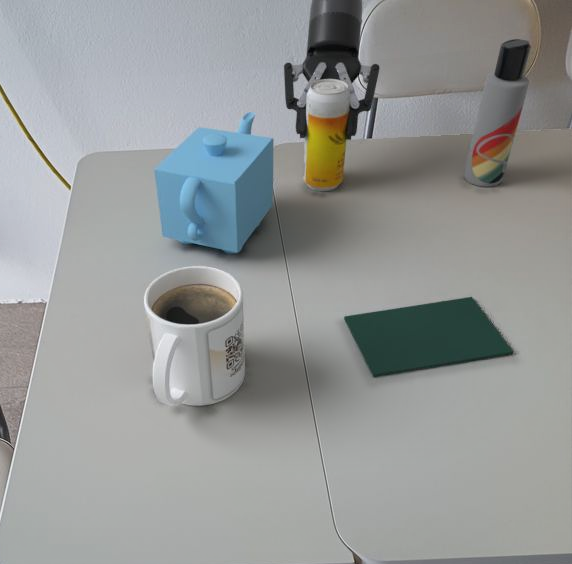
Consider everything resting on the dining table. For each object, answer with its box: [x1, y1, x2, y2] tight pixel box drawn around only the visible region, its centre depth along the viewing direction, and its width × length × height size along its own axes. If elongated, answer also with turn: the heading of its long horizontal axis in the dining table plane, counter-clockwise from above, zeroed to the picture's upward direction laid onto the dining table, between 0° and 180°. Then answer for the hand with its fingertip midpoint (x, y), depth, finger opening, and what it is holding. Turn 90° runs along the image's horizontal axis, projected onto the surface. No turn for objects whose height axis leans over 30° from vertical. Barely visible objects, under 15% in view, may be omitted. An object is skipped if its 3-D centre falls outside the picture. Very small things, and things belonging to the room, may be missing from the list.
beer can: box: [302, 79, 350, 192], centre depth 96 cm, size 6×6×15 cm
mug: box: [143, 265, 246, 407], centre depth 67 cm, size 10×12×11 cm
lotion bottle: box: [463, 38, 532, 188], centre depth 93 cm, size 6×6×20 cm
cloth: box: [343, 296, 514, 378], centre depth 74 cm, size 16×10×1 cm, turn 100°
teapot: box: [154, 111, 275, 255], centre depth 88 cm, size 22×11×14 cm, turn 156°
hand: (325, 136), depth 94 cm, fingers closed on beer can, 6 cm apart
